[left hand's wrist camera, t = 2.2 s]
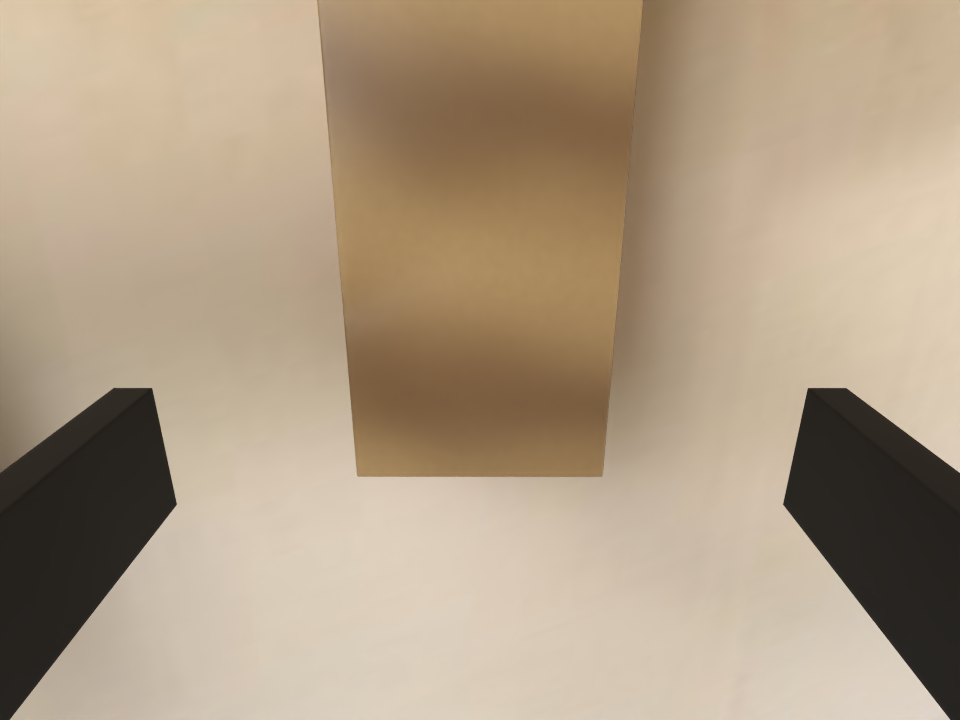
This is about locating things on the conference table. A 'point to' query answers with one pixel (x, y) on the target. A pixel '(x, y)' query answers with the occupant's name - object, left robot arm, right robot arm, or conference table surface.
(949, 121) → the conference table surface
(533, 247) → the wide beam
